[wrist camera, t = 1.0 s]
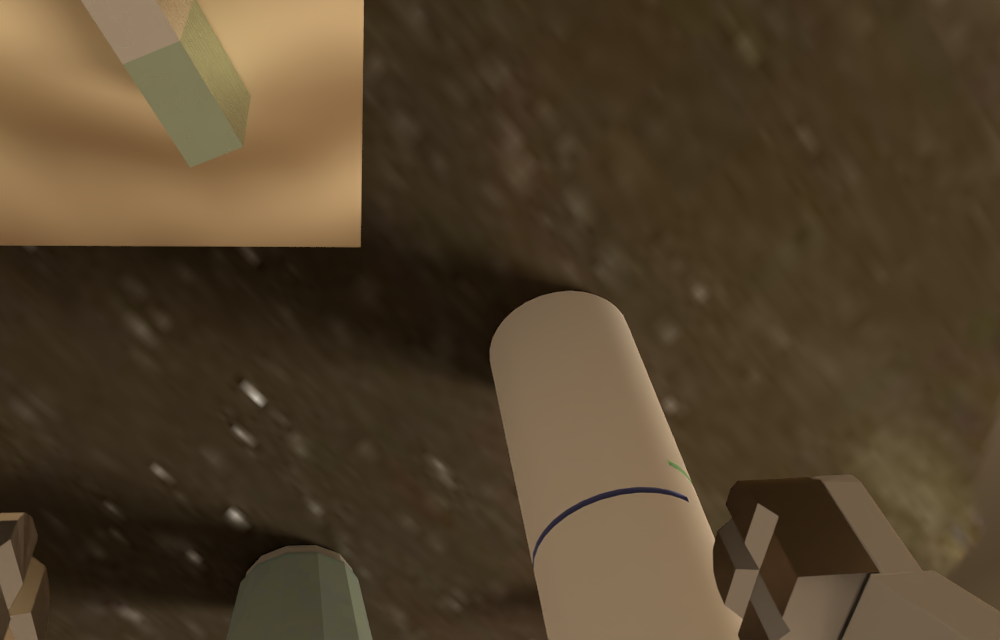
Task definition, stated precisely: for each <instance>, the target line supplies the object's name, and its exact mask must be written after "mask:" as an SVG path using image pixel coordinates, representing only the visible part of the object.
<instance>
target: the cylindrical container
mask: <svg viewBox="0 0 1000 640" xmlns="http://www.w3.org/2000/svg"><path fill="white" fill-rule="evenodd" d="M490 364H491V369H492V374H493V379H494V383H495V388H496V393H497V398H498V403H499V407H500V412H501V417H502V422H503V426H504V431H505V436H506V441H507V445H508V450H509V455H510V460H511V465H512V469H513V474H514V479H515V484H516V488H517V493H518V498H519V503H520V507H521V512H522V517H523V522H524V526H525V531H526V536H527V541H528V545H529V550H530V555H531V560H532V564H533V568H534V574H535V579H536V583H537V588H538V593H539V598H540V602H541V607H542V612H543V617H544V622H545V626H546V631H547V636H548V640H740V639H739V637H738V632H739V629H740V626H741V623H742V620H743V619H742V618H741V617H740V616H738V615H737V614H736V613H734V612H733V611H732V610H730V609H729V608H728V607H726V606H725V605H724V603H723V600H722V598H721V596H720V593H719V591H718V589H717V585H716V581H715V577H714V572H713V546H714V542H715V539H714V536H713V534H712V531H711V529H710V526H709V524H708V521H707V519H706V516H705V514H704V512H703V509H702V507H701V504H700V502H699V499H698V497H697V494H696V492H695V489H694V487H693V485H692V482H691V479H690V477H689V475H688V472H687V470H686V467H685V465H684V462H683V460H682V457H681V455H680V453H679V450H678V448H677V445H676V443H675V440H674V438H673V435H672V433H671V430H670V428H669V426H668V423H667V421H666V418H665V416H664V413H663V411H662V408H661V406H660V403H659V401H658V399H657V396H656V394H655V391H654V389H653V386H652V384H651V381H650V379H649V376H648V374H647V372H646V369H645V367H644V364H643V362H642V359H641V357H640V354H639V352H638V349H637V347H636V345H635V342H634V340H633V337H632V335H631V332H630V330H629V327H628V325H627V323H626V321H625V318H624V316H623V315H622V313H621V312H620V311H619V310H618V309H617V307H616V306H614V305H613V304H612V303H610V302H609V301H608V300H606V299H604V298H602V297H599V296H597V295H594V294H590V293H586V292H579V291H562V292H554V293H550V294H546V295H542V296H539V297H537V298H534V299H532V300H530V301H528V302H526V303H524V304H523V305H521V306H520V307H518V308H516V309H515V310H514V311H513V312H511V313H510V314H509V315H508V316H507V317H506V318H505V319H504V320H503V322H502V323H501V324H500V326H499V327H498V328H497V330H496V332H495V334H494V336H493V338H492V342H491V346H490Z"/></svg>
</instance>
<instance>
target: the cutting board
mask: <svg viewBox="0 0 1000 640" xmlns="http://www.w3.org/2000/svg"><path fill="white" fill-rule="evenodd" d="M196 1H197V3H198V5H199V6H200V8H201V10H202V12H203V13H204V15H205V17H206V19H207V20H208V22H209V24H210V26H211V28H212V29H213V31H214V33H215V35H216V36H217V38H218V40H219V42H220V43H221V45H222V47H223V49H224V50H225V52H226V54H227V56H228V57H229V59H230V61H231V63H232V64H233V66H234V68H235V70H236V71H237V73H238V75H239V77H240V78H241V80H242V82H243V84H244V85H245V87H246V89H247V91H248V92H249V94H250V96H251V99H250V105H249V112H248V119H247V125H246V132H245V139H244V145H243V147H241V148H239V149H236V150H234V151H231V152H229V153H226V154H224V155H221V156H218V157H216V158H213V159H211V160H208V161H206V162H203V163H201V164H198V165H196V166H193V167H191V168H190V167H189V165H188V164H187V162H186V161H185V159H184V158H183V156H182V154H181V153H180V151H179V150H178V148H177V147H176V145H175V144H174V142H173V141H172V139H171V138H170V136H169V135H168V133H167V131H166V130H165V128H164V127H163V125H162V124H161V122H160V121H159V119H158V118H157V116H156V115H155V113H154V112H153V110H152V108H151V107H150V105H149V104H148V102H147V101H146V99H145V98H144V96H143V95H142V93H141V92H140V90H139V89H138V87H137V85H136V84H135V82H134V81H133V79H132V78H131V76H130V75H129V73H128V72H127V70H126V69H125V67H124V66H123V64H122V62H121V61H120V59H119V58H118V56H117V55H116V53H115V52H114V50H113V49H112V47H111V46H110V44H109V43H108V41H107V39H106V38H105V36H104V35H103V33H102V32H101V30H100V29H99V27H98V26H97V24H96V23H95V21H94V20H93V18H92V16H91V15H90V13H89V12H88V10H87V9H86V7H85V6H84V4H83V3H82V1H81V0H0V245H27V246H233V247H361V181H362V100H363V20H364V0H196Z"/></svg>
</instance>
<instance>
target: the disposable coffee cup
mask: <svg viewBox="0 0 1000 640" xmlns="http://www.w3.org/2000/svg"><path fill="white" fill-rule="evenodd" d="M226 640H372V636H371V632H370V628H369V623H368V619H367V615H366V611H365V607H364V602H363V598H362V594H361V590H360V585H359V581H358V578H357V577H356V576H355V574H354V573H353V571H352V568H351V567H350V566H349V565H348V563H347V562H346V561H345V560H344V559H343V557H342V556H341V555H340V554H339V553H336V552H334V551H331V550H328V549H325V548H322V547H320V546H317V545H299V546H285V547H282V548H280V549H277V550H275V551H272V552H270V553H267V554H265V555H262V556H261V557H260V558H259V559H258V560H257V561H256V562H255V563H254V564H253V566H252V567H251V568H250V569H249V570H248V571H247V573H246V577H245V578H244V579H243V580H242V581H241V582H240V586H239V590H238V594H237V598H236V602H235V607H234V611H233V615H232V619H231V623H230V627H229V631H228V635H227V639H226Z"/></svg>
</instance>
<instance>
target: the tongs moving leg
mask: <svg viewBox="0 0 1000 640" xmlns="http://www.w3.org/2000/svg"><path fill="white" fill-rule="evenodd" d="M81 1H82V3H83V4H84V6H85V7H86V9H87V10H88V12H89V13H90V15H91V16H92V18H93V20H94V21H95V23H96V24H97V26H98V27H99V29H100V30H101V32H102V33H103V35H104V36H105V38H106V39H107V41H108V43H109V44H110V46H111V47H112V49H113V50H114V52H115V53H116V55H117V56H118V58H119V59H120V61H121V62H122V64H123V66H124V67H125V69H126V70H127V72H128V73H129V75H130V76H131V78H132V79H133V81H134V82H135V84H136V85H137V87H138V89H139V90H140V92H141V93H142V95H143V96H144V98H145V99H146V101H147V102H148V104H149V105H150V107H151V108H152V110H153V112H154V113H155V115H156V116H157V118H158V119H159V121H160V122H161V124H162V125H163V127H164V128H165V130H166V131H167V133H168V135H169V136H170V138H171V139H172V141H173V142H174V144H175V145H176V147H177V148H178V150H179V151H180V153H181V154H182V156H183V158H184V159H185V161H186V162H187V164H188V165H189V167H190V168H191V167H193V166H196V165H198V164H201V163H203V162H206V161H208V160H211V159H213V158H216V157H218V156H221V155H224V154H226V153H229V152H231V151H234V150H236V149H239V148H241V147H243V145H244V139H245V132H246V125H247V119H248V112H249V105H250V99H251V96H250V94H249V92H248V91H247V89H246V87H245V85H244V84H243V82H242V80H241V78H240V77H239V75H238V73H237V71H236V70H235V68H234V66H233V64H232V63H231V61H230V59H229V57H228V56H227V54H226V52H225V50H224V49H223V47H222V45H221V43H220V42H219V40H218V38H217V36H216V35H215V33H214V31H213V29H212V28H211V26H210V24H209V22H208V20H207V19H206V17H205V15H204V13H203V12H202V10H201V8H200V6H199V5H198V3H197V1H196V0H81Z"/></svg>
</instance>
